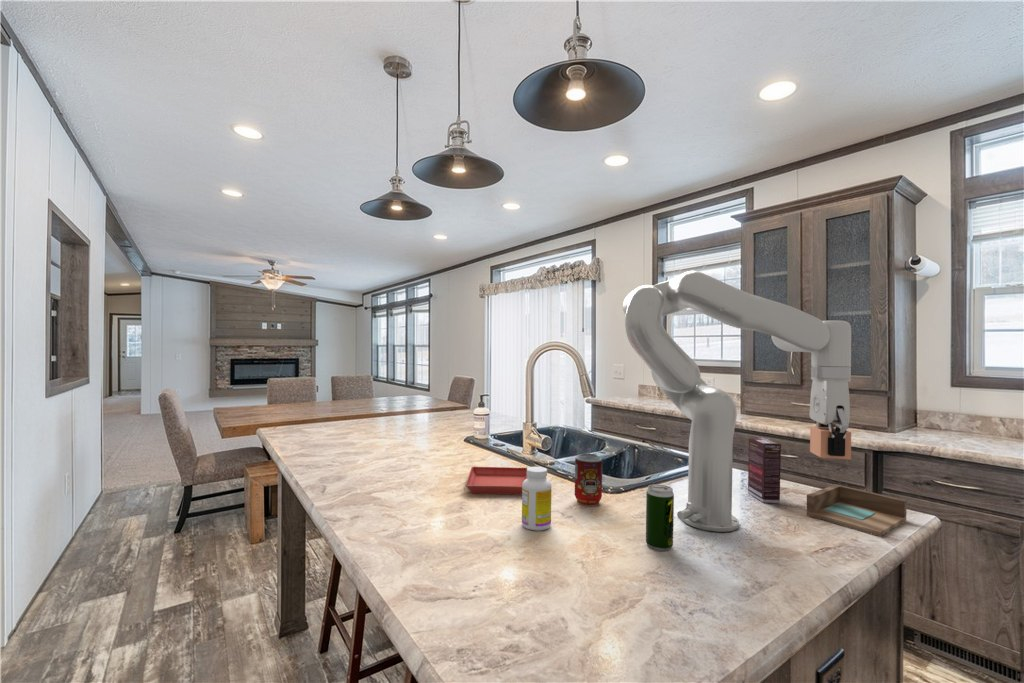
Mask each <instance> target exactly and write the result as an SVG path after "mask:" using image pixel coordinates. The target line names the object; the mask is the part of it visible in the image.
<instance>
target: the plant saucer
mask: <svg viewBox="0 0 1024 683" xmlns="http://www.w3.org/2000/svg"><path fill="white" fill-rule="evenodd" d="M527 468H528V467H506V466H504V467H503V466H502V467H501V466H500V467H499V466H472V467H470V469H469V470H470V471H469V473H468V476H467V480H466V482H465V487H466V488H467V489H468V491H469V492H470V493H471V494H480V495H481V494H482V495H483V494H487V495H488V494H489V495H490V494H491V495H493V494H494V495H495V494H496V495H522V484H523V481H524V480H525V479H527V478H528V476H527Z"/></svg>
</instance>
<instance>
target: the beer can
mask: <svg viewBox="0 0 1024 683" xmlns="http://www.w3.org/2000/svg"><path fill="white" fill-rule="evenodd" d="M673 490H674V489H673V487H671V486H670V485H664V484H659V483H658V484H657V483H656V484H655V483H653V484H649V485H648V486H647V490H646V492H645V494H646V496H645V498H646V500H645V501H646V504H645V505H646V506H645V508H646V509H645V544H646V545H647V547H648V548H649V549H651V550H653V551H657V552H669V551H671V550H672V548H673V546H674V519H675V518H674V514H675V513H674V511H675V509H674V508H675V507H674V506H675V503H674V502H675V493H674V491H673Z"/></svg>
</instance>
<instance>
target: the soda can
mask: <svg viewBox="0 0 1024 683" xmlns="http://www.w3.org/2000/svg"><path fill="white" fill-rule="evenodd" d="M574 461H575V462H574V497H575V498H576V502H577V504H578V503H579V505H581V506H585V507H595V506H598V505H599V504H600V501H601V500H602V497H603V462H604V461H603V458H602V457H601V456H600V455H597V454H595V453H590V452H589V453H588V452H585V453H579V454H578V455H577V456H576V457H575V458H574Z"/></svg>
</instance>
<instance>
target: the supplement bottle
mask: <svg viewBox="0 0 1024 683" xmlns="http://www.w3.org/2000/svg"><path fill="white" fill-rule="evenodd" d="M526 468H527V476H528V478H527V479H525V480H524V481H523V484H522V494H521V525H522V527H524V528H525V529H527V530H530V531H539V532H540V531H544V530H547V529H549V528H550V527H551V524H552V483H551V481H550V480H549V479H547V476H548V469H547V468H546V467H543V466H528V467H526Z"/></svg>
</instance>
